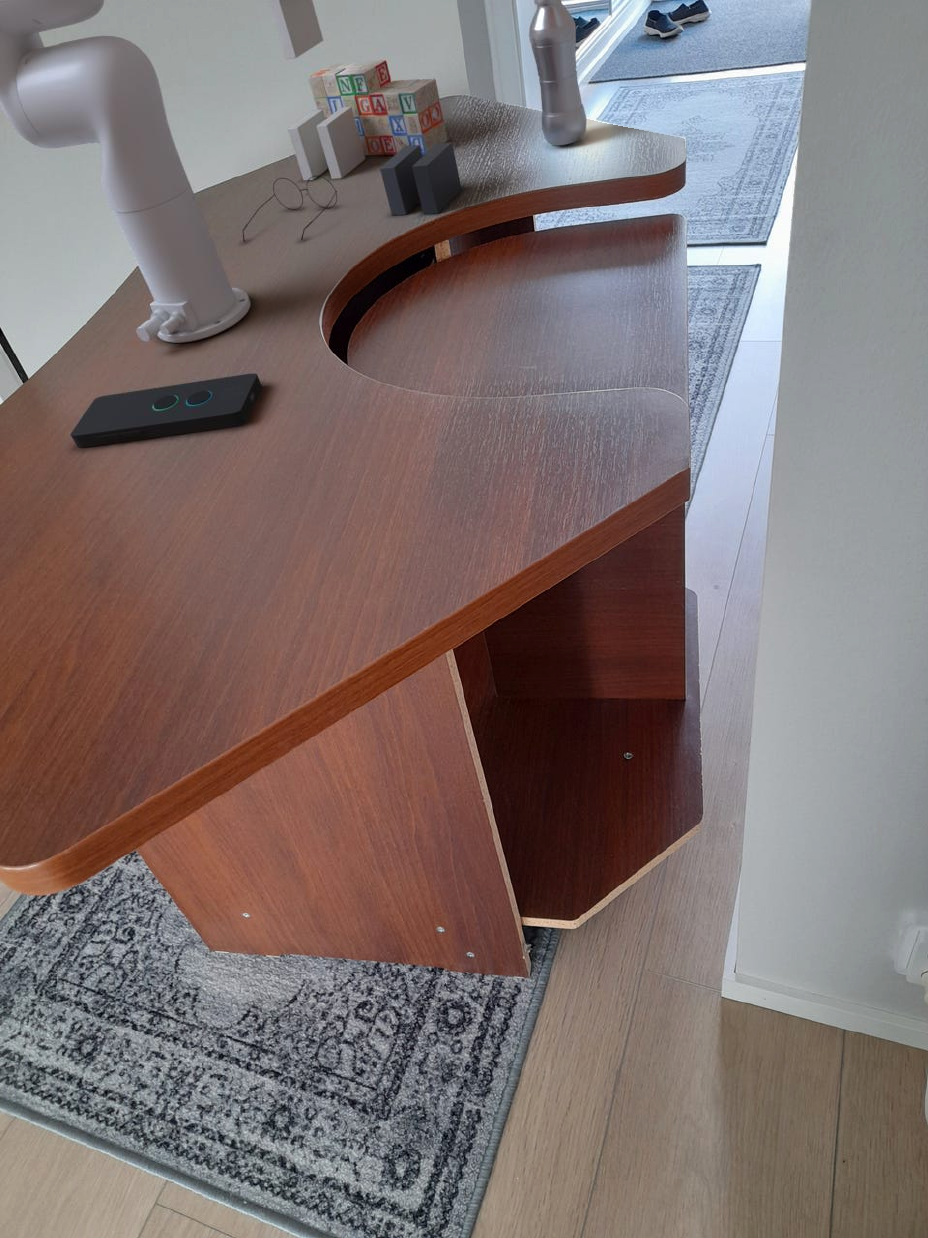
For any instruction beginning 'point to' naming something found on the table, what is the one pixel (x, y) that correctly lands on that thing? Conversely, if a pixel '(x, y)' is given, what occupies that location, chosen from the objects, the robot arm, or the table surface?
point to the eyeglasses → (299, 207)
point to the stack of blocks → (382, 106)
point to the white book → (296, 26)
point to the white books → (327, 143)
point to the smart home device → (168, 411)
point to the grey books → (421, 179)
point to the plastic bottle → (557, 72)
